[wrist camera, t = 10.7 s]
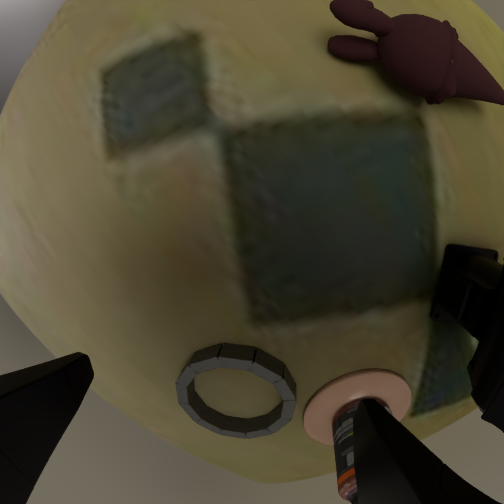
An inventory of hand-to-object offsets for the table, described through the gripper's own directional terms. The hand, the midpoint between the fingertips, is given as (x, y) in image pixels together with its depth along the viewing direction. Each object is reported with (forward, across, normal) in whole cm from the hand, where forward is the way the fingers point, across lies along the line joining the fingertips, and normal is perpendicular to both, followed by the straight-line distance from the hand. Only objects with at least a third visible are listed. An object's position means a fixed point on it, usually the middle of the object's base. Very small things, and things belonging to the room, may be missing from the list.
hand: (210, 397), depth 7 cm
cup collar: (+13, +1, +12) cm, 18 cm away
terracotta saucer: (+13, -11, +14) cm, 22 cm away
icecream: (+13, -11, -16) cm, 24 cm away
